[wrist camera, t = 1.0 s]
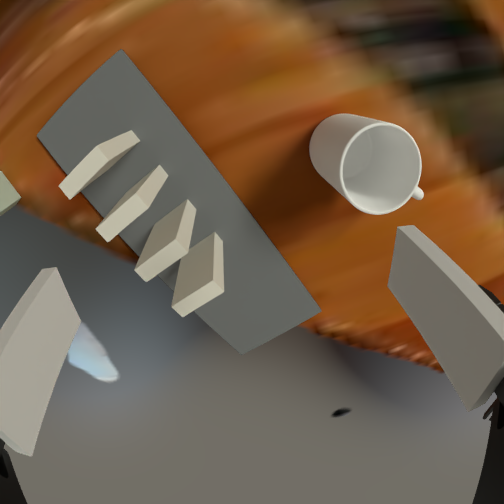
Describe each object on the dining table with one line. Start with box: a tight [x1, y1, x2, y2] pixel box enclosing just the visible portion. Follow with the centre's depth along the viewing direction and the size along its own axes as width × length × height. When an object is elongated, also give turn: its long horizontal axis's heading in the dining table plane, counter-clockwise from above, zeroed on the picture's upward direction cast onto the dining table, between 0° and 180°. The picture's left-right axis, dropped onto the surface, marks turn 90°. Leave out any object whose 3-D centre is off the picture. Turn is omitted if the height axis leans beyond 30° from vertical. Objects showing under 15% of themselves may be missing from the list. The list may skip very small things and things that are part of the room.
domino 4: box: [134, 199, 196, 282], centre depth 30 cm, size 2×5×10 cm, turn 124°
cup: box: [309, 114, 424, 215], centre depth 29 cm, size 8×12×10 cm
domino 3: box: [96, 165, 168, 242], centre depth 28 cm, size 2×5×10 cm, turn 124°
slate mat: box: [37, 49, 321, 355], centre depth 35 cm, size 42×14×1 cm, turn 34°
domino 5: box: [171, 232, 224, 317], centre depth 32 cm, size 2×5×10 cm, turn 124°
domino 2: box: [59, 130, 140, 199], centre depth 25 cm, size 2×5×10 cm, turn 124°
